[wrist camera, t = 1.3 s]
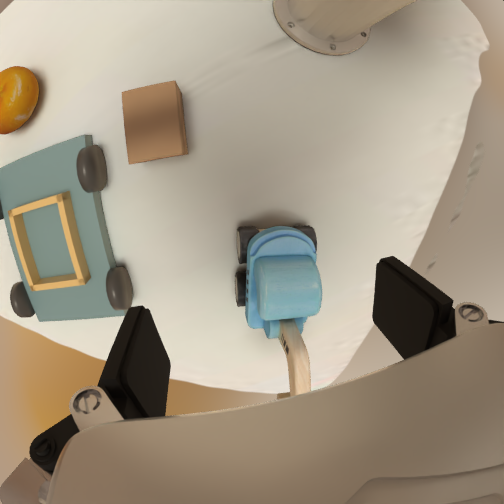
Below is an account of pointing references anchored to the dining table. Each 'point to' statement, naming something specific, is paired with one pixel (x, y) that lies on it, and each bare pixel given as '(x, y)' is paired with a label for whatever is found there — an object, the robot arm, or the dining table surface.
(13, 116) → the fruit
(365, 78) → the dining table surface
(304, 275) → the toy excavator
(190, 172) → the dining table surface
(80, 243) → the chassis
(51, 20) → the dining table surface
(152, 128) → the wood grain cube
